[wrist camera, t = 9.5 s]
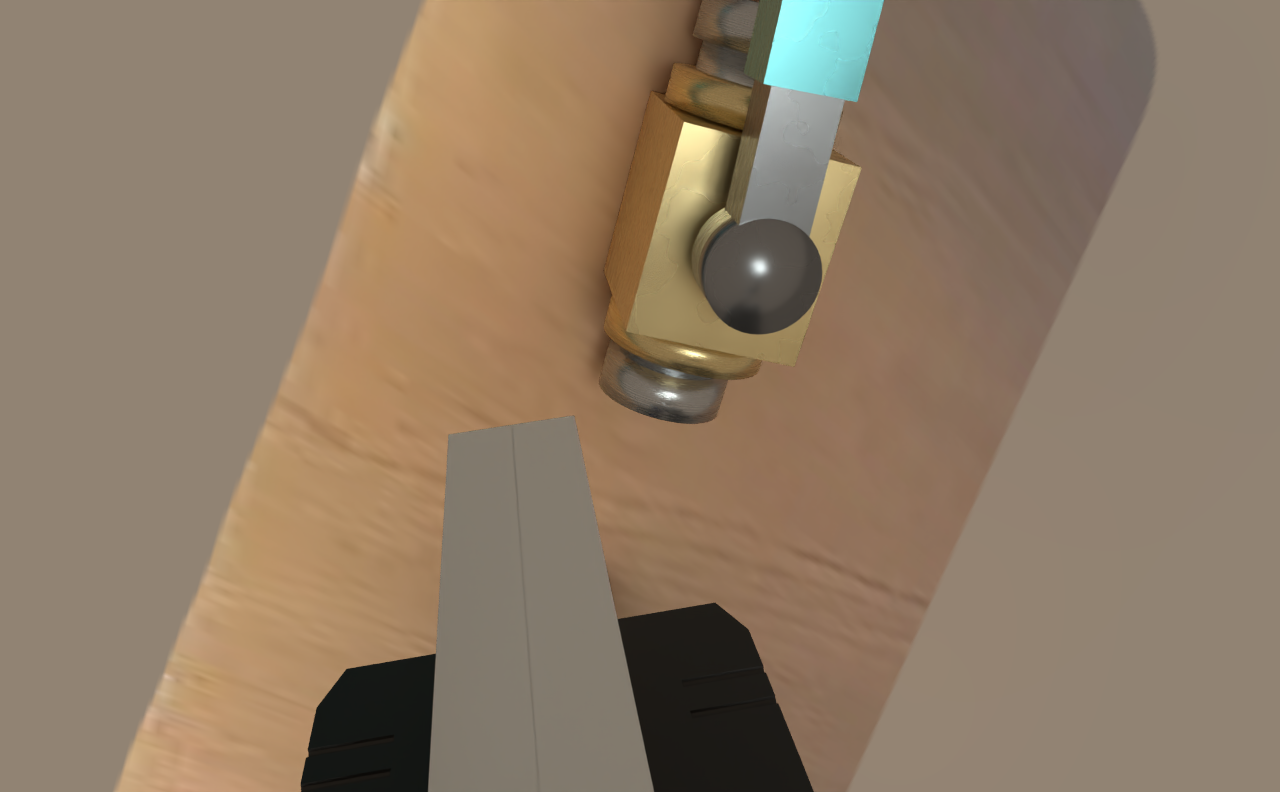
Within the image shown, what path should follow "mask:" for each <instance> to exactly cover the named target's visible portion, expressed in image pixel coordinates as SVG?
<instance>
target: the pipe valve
mask: <svg viewBox="0 0 1280 792" xmlns="http://www.w3.org/2000/svg"><path fill="white" fill-rule="evenodd" d="M758 6H759V3H757V2H754V1H750V0H702V2H701V6H700V10H699V14H698V17H697V21H696V25H695V28H694V32H693V36H695V37H697V38H699V39H702V40H703V43H702V46H701V50H700V53H699V57H698V61H697V64H696V66H694V65H689V64H683V63H674V65H673V69H672V72H671V76H670V80H669V84H668V87H667V91H666V94H662V93H658V92H654V91H651V92H650V96H649V100H648V104H647V108H646V111H645V115H644V119H643V123H642V127H641V130H640V134H639V138H638V142H637V146H636V149H635V153H634V157H633V161H632V165H631V168H630V172H629V176H628V180H627V184H626V187H625V191H624V195H623V199H622V203H621V206H620V210H619V214H618V218H617V222H616V226H615V229H614V233H613V237H612V241H611V245H610V248H609V252H608V256H607V260H606V264H605V267H604V273H605V276H606V278H607V281H608V284H609V287H610V289H611V292H612V296H611V300H610V304H609V308H608V311H607V315H606V319H605V323H604V330H605V332H606V334H607V335H608V336H609V337H610V338H611V340H610V342H609V345H608V349H607V353H606V356H605V360H604V364H603V367H602V371H601V375H600V379H599V385H600V387H601V389H602V390H603V391H604V393H605V394H606V395H608V396H609V397H610V398H611V399H613V400H614V401H616V402H617V403H619V404H621V405H623V406H625V407H627V408H629V409H631V410H633V411H636V412H638V413H641V414H643V415H646V416H650V417H653V418H657V419H660V420H665V421H670V422H676V423H686V424H698V423H705V422H709V421H711V420H713V419H714V418H715V417H716V416H717V414H718V410H719V407H720V404H721V401H722V398H723V395H724V391H725V388H726V385H727V382H728V380H737V379H745V378H749V377H752V376H754V375H756V374H757V373H758V371H759V369H760V366H761V362H762V360H764V361H768V362H773V363H778V364H783V365H788V366H792V367H794V366H795V363H796V360H797V357H798V354H799V351H800V348H801V345H802V342H803V340H804V337H805V334H806V331H807V328H808V325H809V322H810V319H811V316H812V313H813V310H814V307H815V304H816V301H817V298H818V295H819V292H820V289H821V286H822V283H823V280H824V277H825V274H826V272H827V269H828V266H829V263H830V260H831V257H832V254H833V251H834V248H835V245H836V242H837V239H838V236H839V233H840V230H841V227H842V224H843V221H844V218H845V215H846V212H847V209H848V206H849V204H850V201H851V198H852V195H853V192H854V189H855V186H856V183H857V180H858V177H859V174H860V171H861V167H860V166H858V165H856V164H855V163H853V162H852V161H850V160H849V159H847V158H845V157H844V156H842V155H841V154H839V153H837V152H836V151H834V150H833V149H832V152H831V156H830V159H829V163H828V167H827V171H826V175H825V179H824V183H823V187H822V190H821V194H820V198H819V202H818V206H817V210H816V214H815V217H814V221H813V225H812V229H811V233H810V238H811V240H812V241H813V242H814V244H815V246H816V248H817V249H818V252H819V255H820V258H821V263H822V281H821V286H820V289H819V292H818V295H817V297H816V299H815V301H814V303H813V304H812V306H811V307H810V309H809V310H808V311H807V312H806V314H805V315H804V316H802V317H801V318H800V319H799V320H798V321H797V322H795V323H794V324H792V325H791V326H789V327H787V328H785V329H783V330H780V331H777V332H774V333H769V334H760V335H756V334H748V333H743V332H740V331H737V330H735V329H733V328H731V327H729V326H728V325H727V324H725V323H724V322H723V321H722V320H721V319H720V318H719V317H718V316H717V315H716V314H715V312H714V311H713V309H712V308H711V306H710V304H709V303H708V301H707V300H706V298H705V296H704V295H703V293H702V291H701V290H700V288H699V286H698V285H697V283H696V280H695V278H694V275H693V271H692V264H691V255H692V248H693V245H694V241H695V239H696V237H697V234H698V233H699V231H700V229H701V228H702V226H703V225H704V224H705V222H706V221H707V220H708V219H709V218H710V217H711V216H713V215H714V214H715V213H716V212H718V211H719V210H721V209H723V208H725V207H726V203H727V198H728V194H729V190H730V185H731V181H732V176H733V172H734V168H735V163H736V159H737V154H738V150H739V146H740V141H741V137H742V132H743V128H744V124H745V119H746V115H747V110H748V106H749V102H750V97H751V93H752V88H753V84H754V80H755V79H754V78H752V77H750V76H748V75H746V74H745V73H744V68H745V64H746V59H747V55H748V50H749V46H750V41H751V37H752V32H753V28H754V23H755V19H756V14H757V10H758ZM842 114H843V111H842V113H841V117H842ZM841 117H840V120H841ZM839 123H840V121H839ZM838 127H839V125H838ZM837 130H838V128H837ZM836 133H837V132H836Z"/></svg>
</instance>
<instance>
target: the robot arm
mask: <svg viewBox="0 0 1280 792" xmlns="http://www.w3.org/2000/svg"><path fill="white" fill-rule="evenodd" d="M308 752H309V757H307V758H306V761H305V766H304V770H303V775H302V780H301V792H814V791H813V789H812V786H811V784H810V781H809V779H808V776H807V774H806V771H805V769H804V766H803V764H802V761H801V759H800V756H799V754H798V751H797V749H796V746H795V744H794V741H793V739H792V736H791V734H790V731H789V729H788V726H787V724H786V722H785V719H784V717H783V714H782V712H781V709H780V707H779V704H778V703H776V699H775V694H774V692H773V689H772V687H771V684H770V682H769V679H768V677H767V674H766V673H764V669H763V664H762V662H761V659H760V657H759V654H758V652H757V649H756V647H755V644H754V642H753V639H752V637H751V635H750V632H749V630H748V629H747V628H746V627H745V626H743V625H742V624H741V623H740V622H738V621H737V620H736V619H735V618H733V617H732V616H731V615H730V614H729V613H727V612H726V611H725V610H724V609H722V608H721V607H720V606H719V605H717V604H716V603H710V604H705V605H699V606H693V607H687V608H681V609H675V610H669V611H663V612H657V613H652V614H646V615H640V616H634V617H628V618H622V619H617V615H616V610H615V605H614V601H613V596H612V591H611V586H610V582H609V577H608V572H607V568H606V563H605V558H604V553H603V549H602V544H601V539H600V534H599V530H598V525H597V520H596V516H595V511H594V506H593V501H592V497H591V492H590V487H589V483H588V478H587V473H586V468H585V464H584V459H583V454H582V449H581V445H580V440H579V435H578V431H577V426H576V421H575V416H567V417H560V418H554V419H547V420H541V421H534V422H528V423H521V424H515V425H508V426H502V427H495V428H488V429H482V430H475V431H469V432H462V433H456V434H449V436H448V453H447V471H446V488H445V506H444V523H443V540H442V558H441V575H440V592H439V610H438V627H437V644H436V654H432V655H426V656H420V657H414V658H408V659H403V660H397V661H391V662H385V663H379V664H373V665H367V666H361V667H356V668H350V669H346V670H345V672H344V673H343V674H342V676H341V677H340V678H339V680H338V681H337V682H336V683H335V685H334V686H333V687H332V689H331V690H330V691H329V693H328V694H327V695H326V696H325V698H324V699H323V700H322V702H321V703H320V704H319V706H318V707H317V709H316V714H315V718H314V723H313V728H312V732H311V737H310V742H309V747H308Z"/></svg>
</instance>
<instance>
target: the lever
mask: <svg viewBox="0 0 1280 792" xmlns="http://www.w3.org/2000/svg"><path fill="white" fill-rule="evenodd" d="M883 2H884V0H760V1H759V6H758V10H757V14H756V19H755V23H754V28H753V32H752V37H751V41H750V46H749V50H748V55H747V59H746V64H745V68H744V73H745V74H746V75H748V76H750V77H752V78H754V79H755V80H754V84H753V88H752V93H751V97H750V102H749V106H748V110H747V115H746V119H745V124H744V128H743V132H742V137H741V141H740V146H739V150H738V154H737V159H736V163H735V168H734V172H733V176H732V181H731V185H730V190H729V194H728V198H727V203H726V207H725V208H723V209H721V210H719V211H718V212H716V213H715V214H714V215H713V216H711V217H710V218H709V219H708V220H707V221H706V222H705V224H704V225H703V226H702V228H701V229H700V231H699V233H698V234H697V237H696V239H695V241H694V245H693V248H692V255H691V264H692V271H693V275H694V278H695V280H696V283H697V285H698V286H699V288H700V290H701V291H702V293H703V295H704V296H705V298H706V300H707V301H708V303H709V304H710V306H711V308H712V309H713V311H714V312H715V314H716V315H717V316H718V317H719V318H720V319H721V320H722V321H723V322H724V323H725V324H727V325H728V326H729V327H731V328H733V329H735V330H737V331H740V332H743V333H748V334H756V335H760V334H769V333H774V332H777V331H780V330H783V329H785V328H787V327H789V326H791V325H792V324H794V323H795V322H797V321H798V320H799V319H800V318H801V317H802V316H804V315H805V314H806V312H807V311H808V310H809V309H810V307H811V306H812V304H813V303H814V301H815V299H816V297H817V295H818V292H819V289H820V286H821V281H822V263H821V258H820V255H819V252H818V249H817V248H816V246H815V244H814V242H813V241H812V240H811V238H810V233H811V229H812V225H813V221H814V217H815V214H816V210H817V206H818V202H819V198H820V194H821V190H822V187H823V183H824V179H825V175H826V171H827V167H828V163H829V159H830V156H831V152H832V148H833V144H834V140H835V136H836V132H837V128H838V125H839V121H840V117H841V113H842V109H843V105H844V101H845V100H849V101H855V102H857V101H858V97H859V93H860V89H861V85H862V82H863V78H864V74H865V70H866V66H867V63H868V59H869V55H870V51H871V47H872V44H873V40H874V36H875V32H876V28H877V25H878V21H879V17H880V13H881V9H882V5H883Z"/></svg>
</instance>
